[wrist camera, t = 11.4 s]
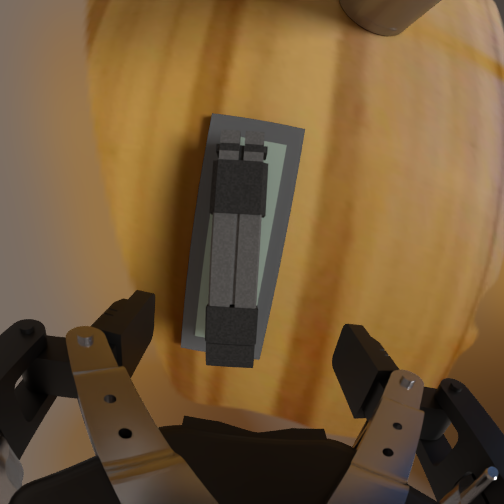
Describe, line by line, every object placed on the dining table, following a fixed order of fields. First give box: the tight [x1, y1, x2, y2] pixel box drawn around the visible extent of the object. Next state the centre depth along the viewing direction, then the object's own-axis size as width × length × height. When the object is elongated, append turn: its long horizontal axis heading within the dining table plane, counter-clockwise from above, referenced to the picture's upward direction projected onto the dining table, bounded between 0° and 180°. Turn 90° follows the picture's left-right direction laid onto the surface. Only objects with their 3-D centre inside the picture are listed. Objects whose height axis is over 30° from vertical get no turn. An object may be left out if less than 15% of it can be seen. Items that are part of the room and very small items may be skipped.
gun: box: [205, 130, 268, 368], centre depth 26 cm, size 4×20×10 cm, turn 176°
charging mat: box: [181, 113, 305, 360], centre depth 29 cm, size 25×9×1 cm, turn 170°
